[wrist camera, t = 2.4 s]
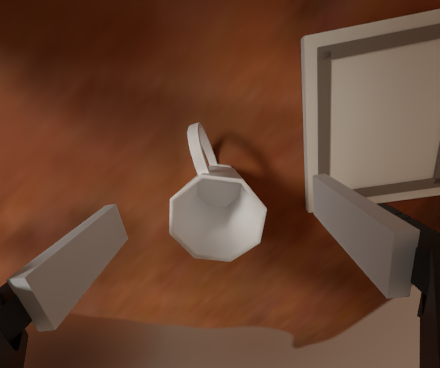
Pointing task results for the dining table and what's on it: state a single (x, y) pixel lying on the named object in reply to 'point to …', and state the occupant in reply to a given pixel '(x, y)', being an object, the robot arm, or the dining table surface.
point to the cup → (215, 207)
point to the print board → (374, 107)
